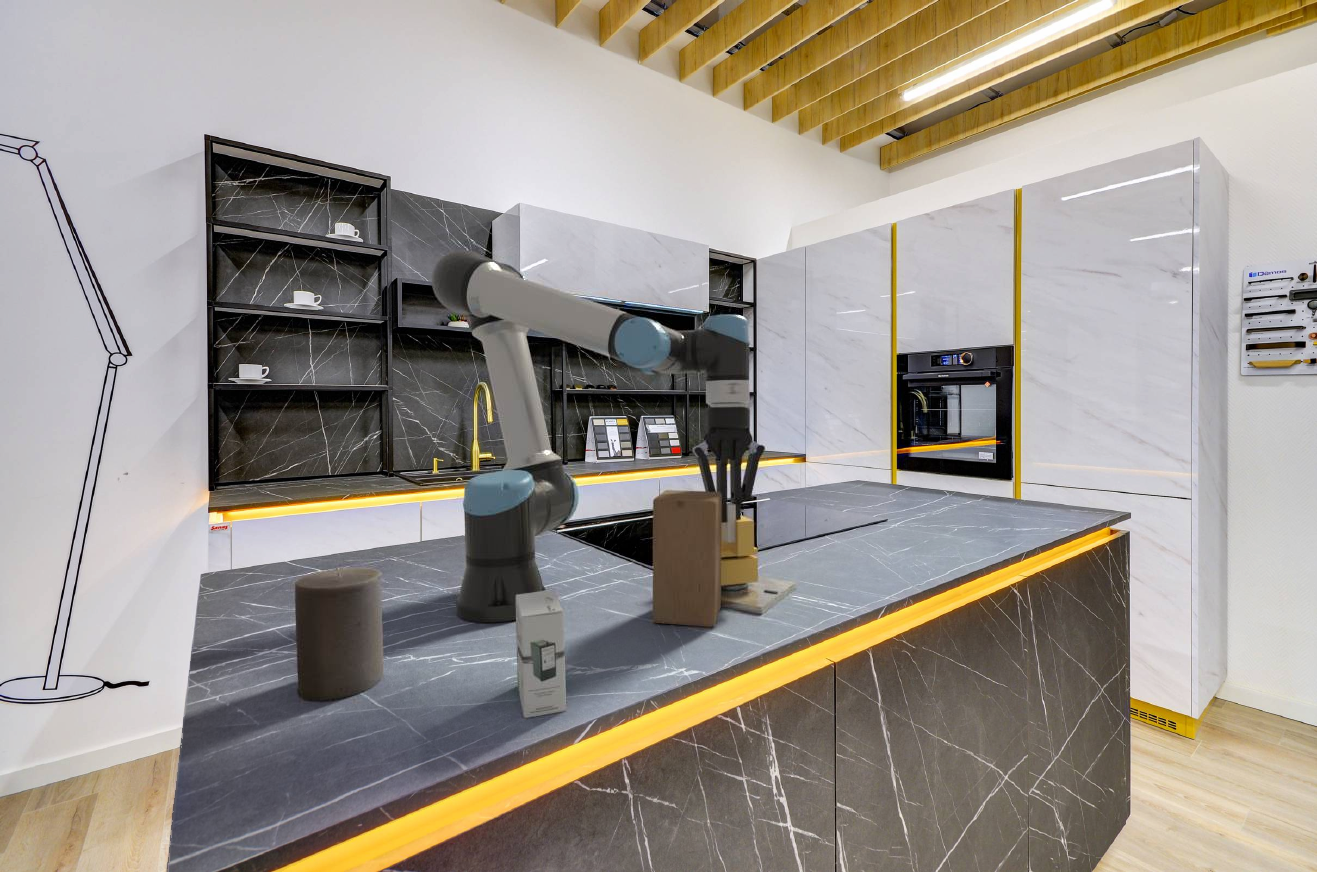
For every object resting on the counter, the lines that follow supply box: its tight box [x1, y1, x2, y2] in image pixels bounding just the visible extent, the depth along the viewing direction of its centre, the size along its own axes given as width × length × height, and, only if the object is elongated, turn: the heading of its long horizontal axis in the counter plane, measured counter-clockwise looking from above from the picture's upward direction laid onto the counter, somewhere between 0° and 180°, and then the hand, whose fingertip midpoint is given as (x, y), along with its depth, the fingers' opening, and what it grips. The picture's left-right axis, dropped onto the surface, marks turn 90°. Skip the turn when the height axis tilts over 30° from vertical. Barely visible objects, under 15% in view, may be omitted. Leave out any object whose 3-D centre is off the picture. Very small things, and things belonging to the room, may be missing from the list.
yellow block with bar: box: [721, 514, 759, 586], centre depth 107 cm, size 11×16×12 cm
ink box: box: [515, 589, 567, 719], centre depth 68 cm, size 9×5×12 cm, turn 19°
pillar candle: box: [294, 566, 384, 702], centre depth 73 cm, size 10×10×15 cm
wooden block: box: [652, 489, 722, 628], centre depth 95 cm, size 10×10×20 cm
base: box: [720, 556, 797, 615], centre depth 107 cm, size 20×16×10 cm
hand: (729, 540), depth 101 cm, fingers closed
